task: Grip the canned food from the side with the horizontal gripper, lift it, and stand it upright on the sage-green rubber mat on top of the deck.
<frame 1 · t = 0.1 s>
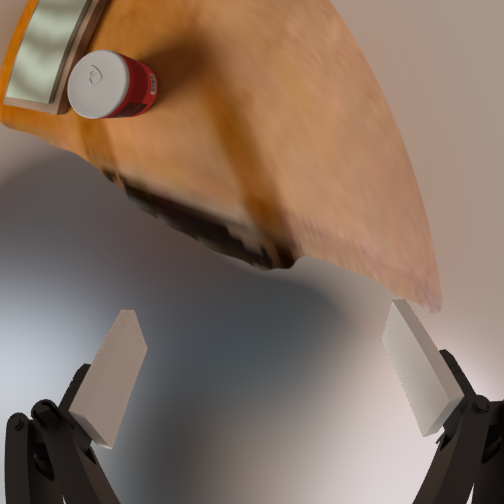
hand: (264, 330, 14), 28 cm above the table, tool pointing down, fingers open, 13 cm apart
deck: (56, 44, 28), on the table
canned food: (134, 89, 33), on the table
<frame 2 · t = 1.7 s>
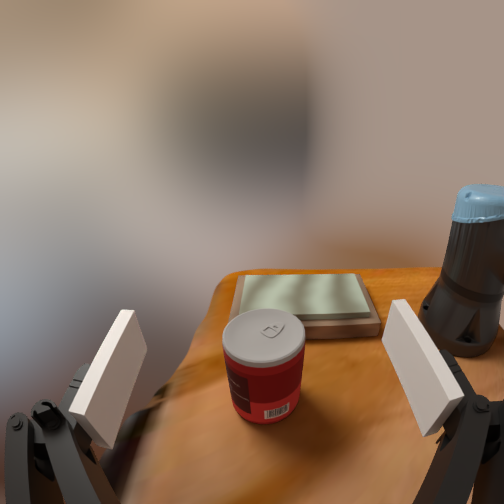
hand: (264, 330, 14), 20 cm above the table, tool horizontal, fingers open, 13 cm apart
deck: (302, 310, 47), on the table
canned food: (265, 400, 31), on the table
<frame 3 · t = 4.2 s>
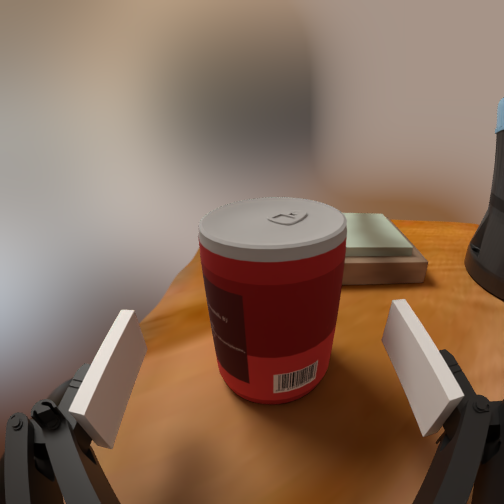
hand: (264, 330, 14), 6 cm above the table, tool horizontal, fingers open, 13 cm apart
deck: (320, 254, 35), on the table
canned food: (274, 366, 20), on the table
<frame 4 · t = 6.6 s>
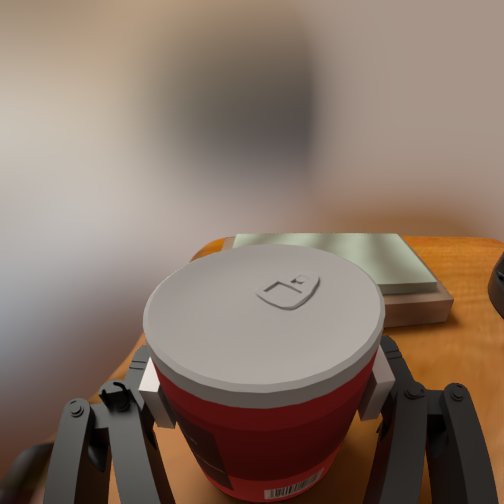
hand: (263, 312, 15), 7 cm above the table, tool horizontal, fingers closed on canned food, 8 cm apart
deck: (325, 285, 29), on the table
canned food: (267, 449, 14), on the table, touching gripper
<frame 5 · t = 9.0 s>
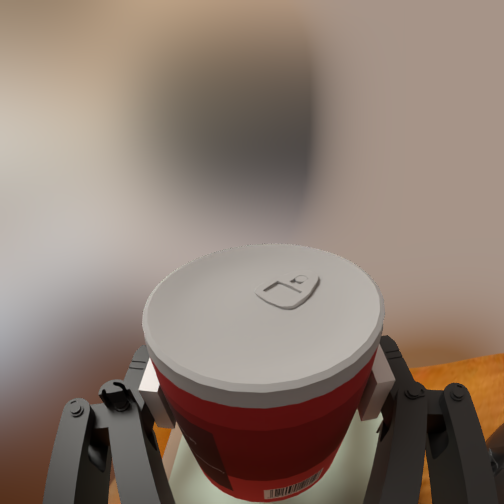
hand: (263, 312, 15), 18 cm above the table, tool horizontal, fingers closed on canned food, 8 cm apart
deck: (286, 474, 21), on the table
canned food: (267, 449, 14), point 11 cm above the table, touching gripper
when the fingers open (11 cm above the table, at t = 11.6 s): canned food drops 1 cm, resting on deck.
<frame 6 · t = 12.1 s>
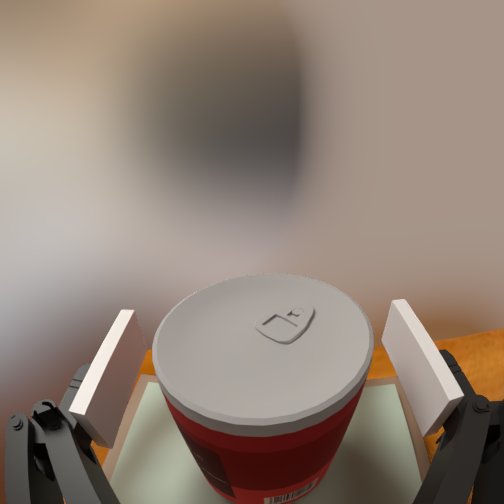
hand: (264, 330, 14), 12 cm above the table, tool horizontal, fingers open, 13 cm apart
deck: (267, 474, 16), on the table
canned food: (266, 458, 15), point 3 cm above the table, touching deck
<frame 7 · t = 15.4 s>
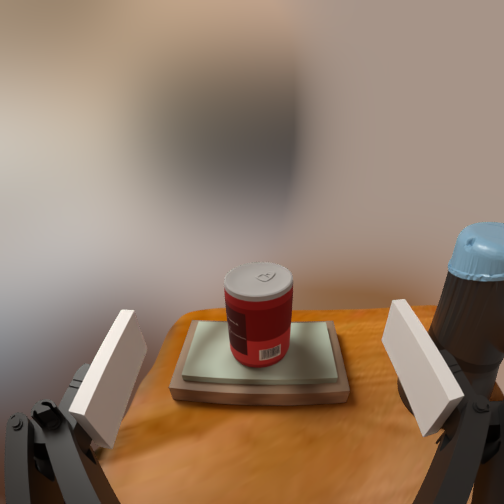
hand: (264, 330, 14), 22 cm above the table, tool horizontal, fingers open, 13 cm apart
deck: (260, 365, 39), on the table
canned food: (260, 349, 38), point 3 cm above the table, touching deck
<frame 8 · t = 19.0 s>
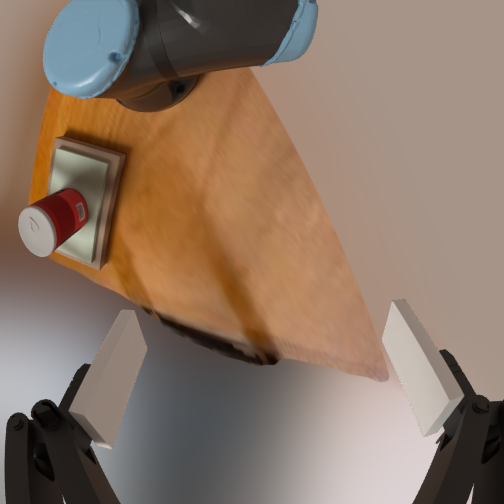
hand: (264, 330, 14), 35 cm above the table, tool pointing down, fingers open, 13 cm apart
deck: (81, 202, 47), on the table
canned food: (72, 208, 44), point 3 cm above the table, touching deck
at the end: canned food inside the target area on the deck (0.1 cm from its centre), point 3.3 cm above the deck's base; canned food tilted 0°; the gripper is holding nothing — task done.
